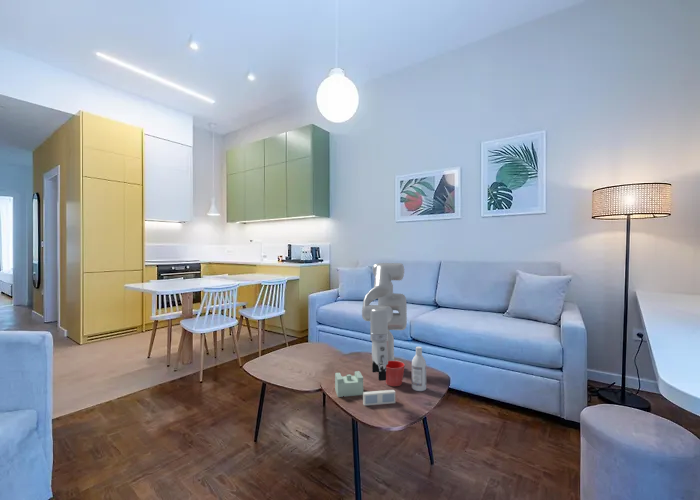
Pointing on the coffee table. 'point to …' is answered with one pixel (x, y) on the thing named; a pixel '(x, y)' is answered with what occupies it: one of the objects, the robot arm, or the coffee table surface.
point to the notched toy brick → (349, 384)
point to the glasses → (378, 397)
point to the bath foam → (418, 371)
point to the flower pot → (394, 373)
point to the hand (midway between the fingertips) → (379, 376)
